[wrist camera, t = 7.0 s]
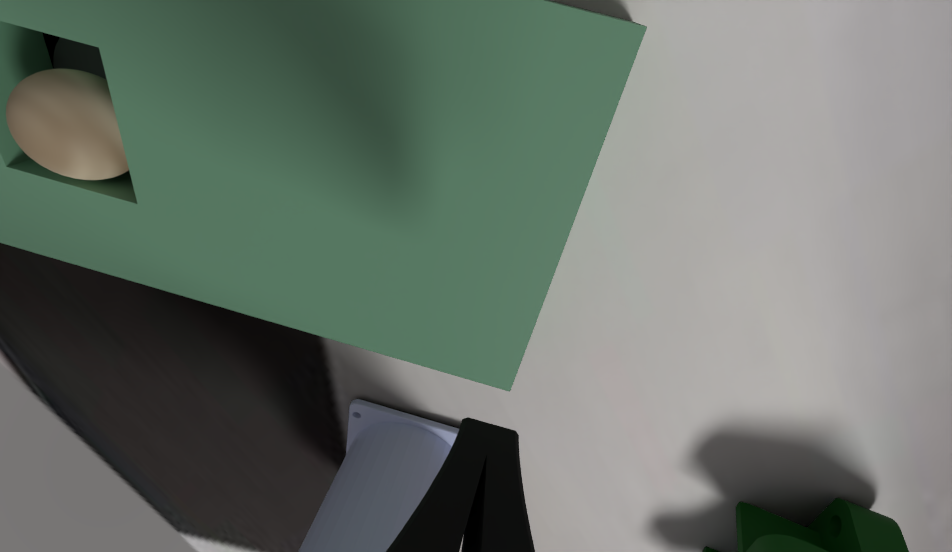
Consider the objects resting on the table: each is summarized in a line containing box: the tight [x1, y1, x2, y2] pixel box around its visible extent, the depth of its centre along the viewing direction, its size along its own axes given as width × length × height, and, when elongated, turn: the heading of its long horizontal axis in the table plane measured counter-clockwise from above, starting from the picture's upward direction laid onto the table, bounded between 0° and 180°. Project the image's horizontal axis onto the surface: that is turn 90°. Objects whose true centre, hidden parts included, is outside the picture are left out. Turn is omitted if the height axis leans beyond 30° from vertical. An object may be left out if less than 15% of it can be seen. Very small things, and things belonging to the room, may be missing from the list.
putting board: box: [0, 0, 647, 391], centre depth 17 cm, size 24×14×3 cm, turn 78°
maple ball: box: [6, 69, 129, 180], centre depth 17 cm, size 4×4×4 cm
